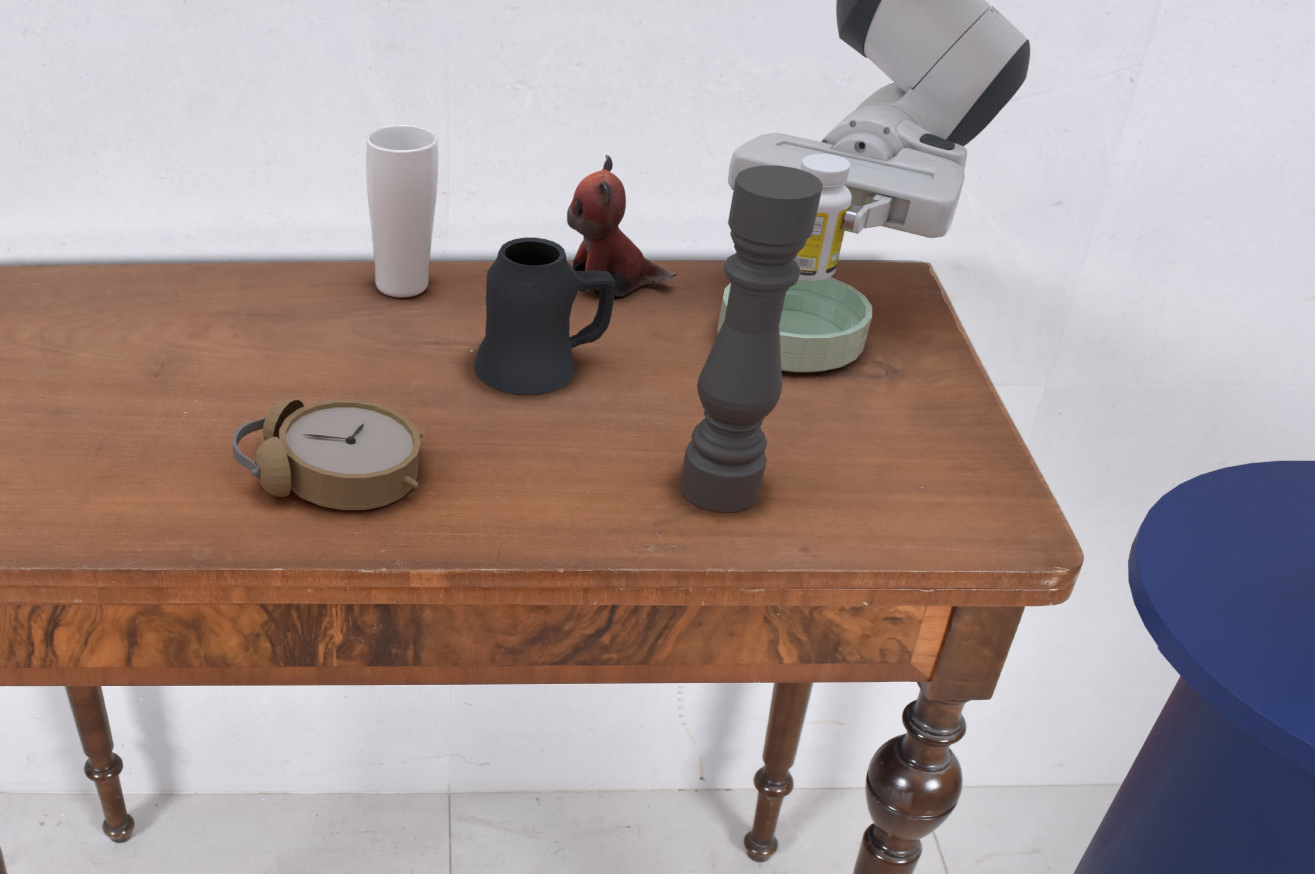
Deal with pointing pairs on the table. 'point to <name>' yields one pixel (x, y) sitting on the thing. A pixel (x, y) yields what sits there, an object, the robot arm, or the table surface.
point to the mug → (536, 317)
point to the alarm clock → (334, 453)
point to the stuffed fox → (608, 234)
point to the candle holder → (749, 337)
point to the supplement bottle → (825, 217)
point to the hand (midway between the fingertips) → (813, 214)
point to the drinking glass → (402, 206)
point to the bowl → (819, 325)
